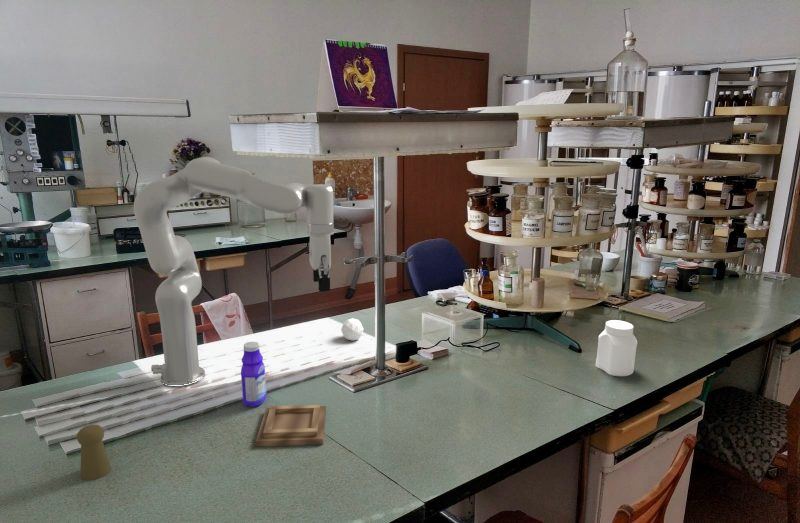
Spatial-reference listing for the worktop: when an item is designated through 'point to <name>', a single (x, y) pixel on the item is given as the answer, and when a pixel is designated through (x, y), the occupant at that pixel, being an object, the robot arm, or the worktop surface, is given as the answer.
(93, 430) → the tan game pawn
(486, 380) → the worktop surface
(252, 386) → the bottle
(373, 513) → the worktop surface
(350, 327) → the geometric ball
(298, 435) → the walnut base
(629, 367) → the jar
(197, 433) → the worktop surface
